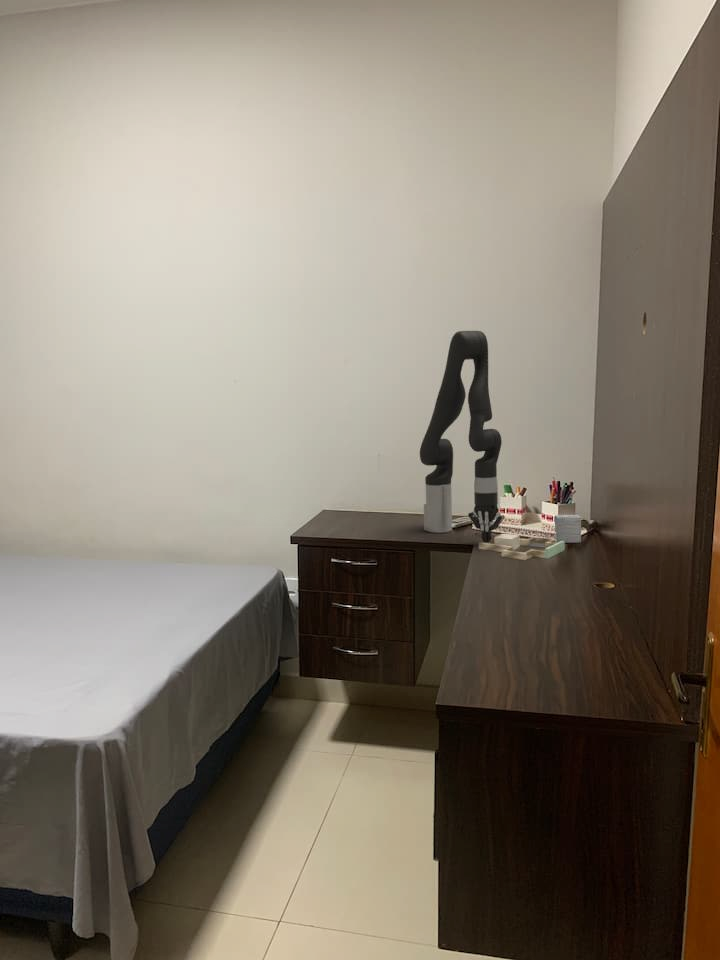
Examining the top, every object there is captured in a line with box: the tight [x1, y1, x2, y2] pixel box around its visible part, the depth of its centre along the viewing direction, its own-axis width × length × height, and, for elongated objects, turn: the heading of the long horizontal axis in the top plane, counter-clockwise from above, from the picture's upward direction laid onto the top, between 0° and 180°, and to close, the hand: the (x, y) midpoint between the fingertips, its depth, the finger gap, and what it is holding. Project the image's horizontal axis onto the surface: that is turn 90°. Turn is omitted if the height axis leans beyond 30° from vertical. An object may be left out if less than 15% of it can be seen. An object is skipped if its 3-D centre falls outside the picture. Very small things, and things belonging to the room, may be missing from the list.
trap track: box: [478, 535, 566, 561], centre depth 236 cm, size 24×22×3 cm
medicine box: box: [554, 514, 582, 544], centre depth 244 cm, size 8×4×9 cm, turn 84°
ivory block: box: [493, 533, 521, 551], centre depth 239 cm, size 6×6×4 cm
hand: (486, 541), depth 244 cm, fingers closed
